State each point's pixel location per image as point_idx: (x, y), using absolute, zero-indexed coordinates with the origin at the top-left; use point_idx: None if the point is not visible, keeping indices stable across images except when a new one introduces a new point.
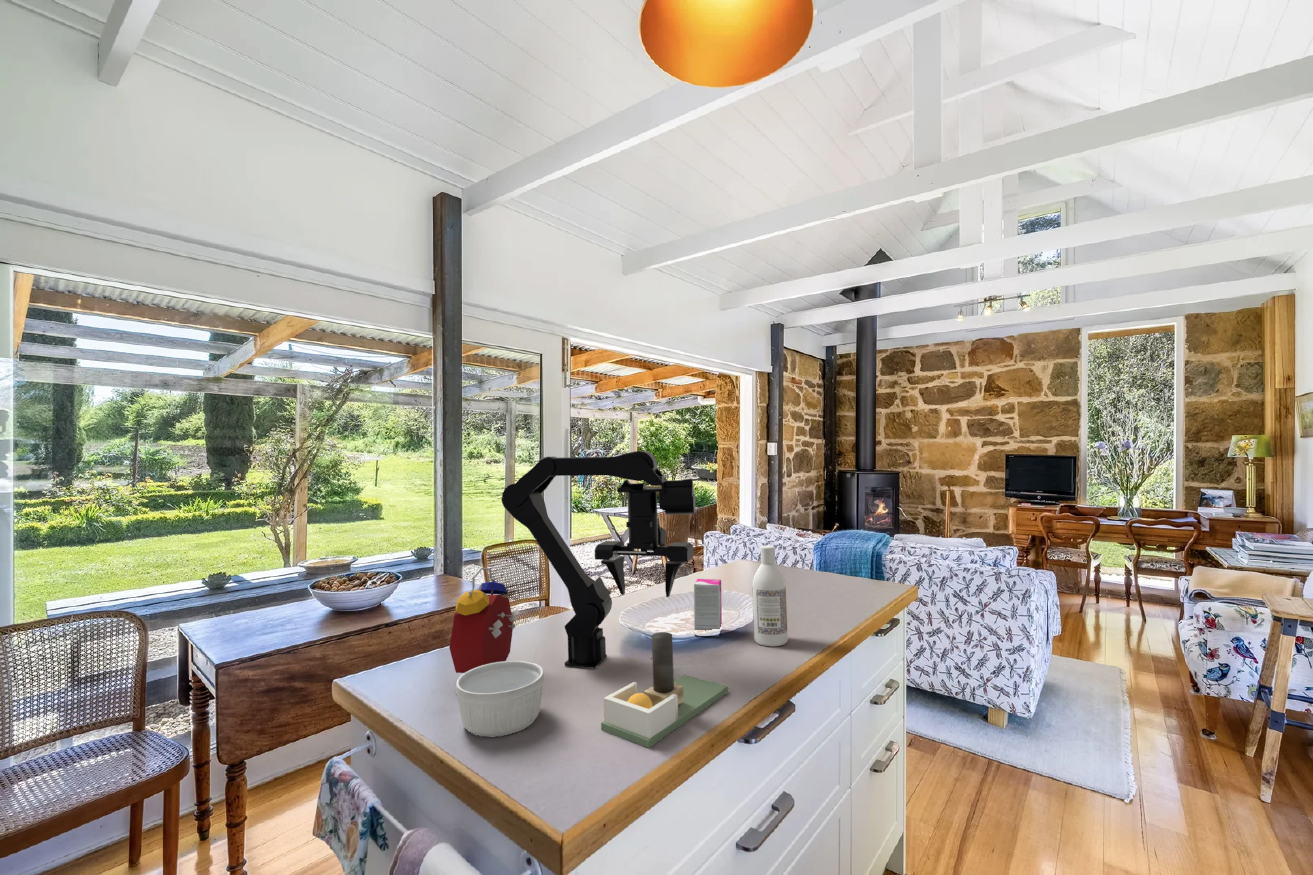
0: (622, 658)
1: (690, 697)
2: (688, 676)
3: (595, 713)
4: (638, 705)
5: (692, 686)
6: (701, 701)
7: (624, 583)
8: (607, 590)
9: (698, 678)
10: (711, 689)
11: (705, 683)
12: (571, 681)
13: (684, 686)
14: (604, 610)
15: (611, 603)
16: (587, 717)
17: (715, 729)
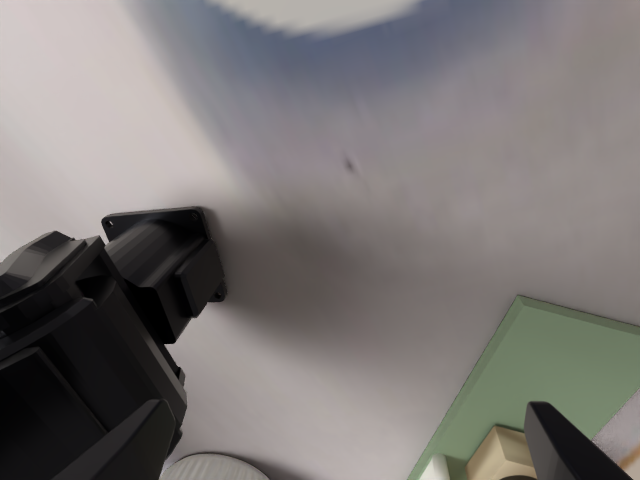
0: (254, 199)
1: (562, 413)
2: (539, 315)
3: (361, 456)
4: None
5: (560, 365)
6: (594, 425)
7: (114, 467)
8: (14, 384)
9: (574, 321)
10: (621, 370)
11: (600, 345)
12: (224, 363)
13: (536, 369)
14: (176, 444)
15: (100, 318)
16: (354, 467)
17: (623, 469)
